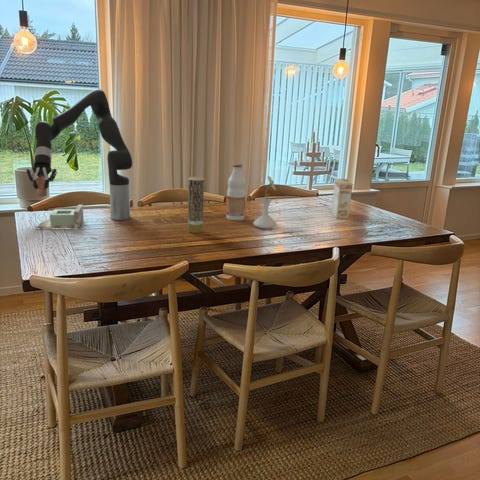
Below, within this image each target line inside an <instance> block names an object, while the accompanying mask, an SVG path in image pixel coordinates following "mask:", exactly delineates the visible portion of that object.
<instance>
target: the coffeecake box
mask: <svg viewBox="0 0 480 480" xmlns="http://www.w3.org/2000/svg"><path fill="white" fill-rule="evenodd" d="M353 185H354V184H353V183H352V182H351V181H349V180H348V179H346V178H334V184H333V186H334V187H333V196H332V203H331V214H332V216H334V218H335V219H340V220H349V215H350V207H351V199H352V192H353V191H352V190H353Z"/></svg>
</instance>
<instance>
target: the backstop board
mask: <svg viewBox="0 0 480 480" xmlns="http://www.w3.org/2000/svg"><path fill="white" fill-rule="evenodd" d="M83 205H84V204H77V206H76V208H75V211H74V222H75V226H51V223H50V218H43V219H42V220H41V222H40V223H39V224H38V225H37V226H36V229H37V228H78V229H77V230H80V229H81V227H82V226H83V223H84V206H83Z"/></svg>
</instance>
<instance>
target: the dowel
mask: <svg viewBox="0 0 480 480" xmlns="http://www.w3.org/2000/svg"><path fill="white" fill-rule="evenodd" d="M45 180H46V179H45V177H38V178H36V183H37V189H36V190H37V197H40V198H41V197H43V198H44V197H47V196H48V190H47V189H45Z"/></svg>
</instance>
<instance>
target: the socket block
mask: <svg viewBox="0 0 480 480" xmlns="http://www.w3.org/2000/svg"><path fill="white" fill-rule="evenodd" d="M75 209H76V208H75ZM75 209H67V208H66V209H59V208H58V209H52V212H51V213H50V214H49V219H50V223H51V226H75V222H74V211H75Z"/></svg>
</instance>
